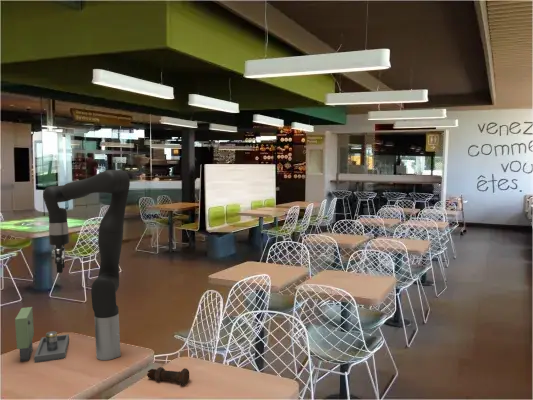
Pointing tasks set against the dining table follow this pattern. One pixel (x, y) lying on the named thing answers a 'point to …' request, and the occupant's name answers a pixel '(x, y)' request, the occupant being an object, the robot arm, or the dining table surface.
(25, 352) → the control unit
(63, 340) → the parts tray
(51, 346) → the pin
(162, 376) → the bolt
